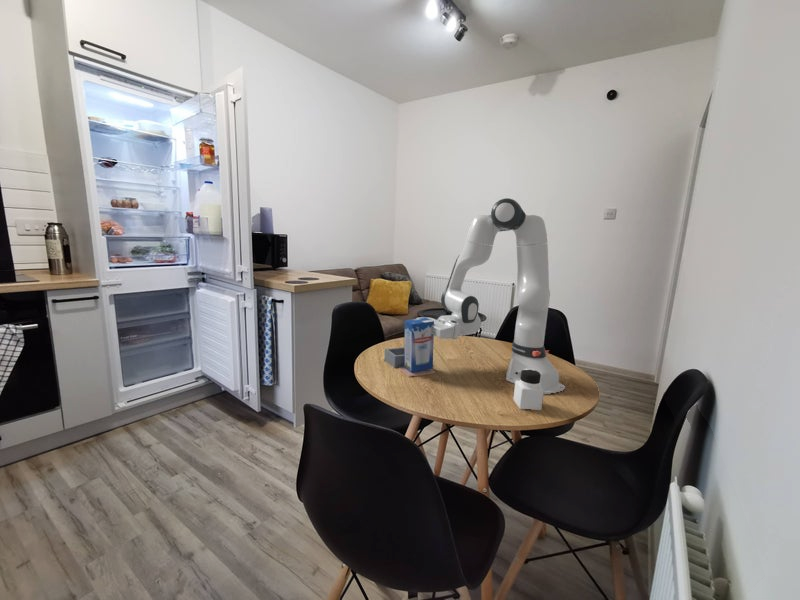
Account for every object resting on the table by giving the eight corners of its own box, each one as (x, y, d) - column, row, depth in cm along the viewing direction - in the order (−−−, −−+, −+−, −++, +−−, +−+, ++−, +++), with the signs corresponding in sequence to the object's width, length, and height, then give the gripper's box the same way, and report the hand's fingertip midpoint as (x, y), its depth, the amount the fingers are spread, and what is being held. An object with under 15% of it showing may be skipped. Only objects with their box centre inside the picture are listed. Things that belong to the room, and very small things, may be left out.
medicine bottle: (541, 410, 112) (546, 375, 110) (519, 409, 112) (523, 374, 110) (533, 400, 119) (538, 367, 117) (512, 399, 119) (516, 366, 117)
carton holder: (423, 364, 149) (424, 353, 148) (394, 368, 142) (395, 356, 141) (412, 356, 157) (412, 346, 156) (384, 360, 151) (384, 349, 150)
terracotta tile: (435, 373, 139) (435, 371, 139) (408, 377, 133) (409, 375, 133) (423, 365, 147) (423, 364, 147) (398, 369, 141) (398, 367, 141)
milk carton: (425, 363, 146) (425, 317, 142) (433, 368, 140) (434, 321, 136) (404, 367, 141) (404, 320, 137) (411, 373, 136) (412, 324, 132)
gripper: (432, 313, 152) (405, 314, 145) (461, 324, 134) (431, 327, 127) (431, 327, 153) (404, 329, 146) (459, 340, 135) (429, 343, 129)
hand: (416, 328), depth 137 cm, fingers closed on milk carton
